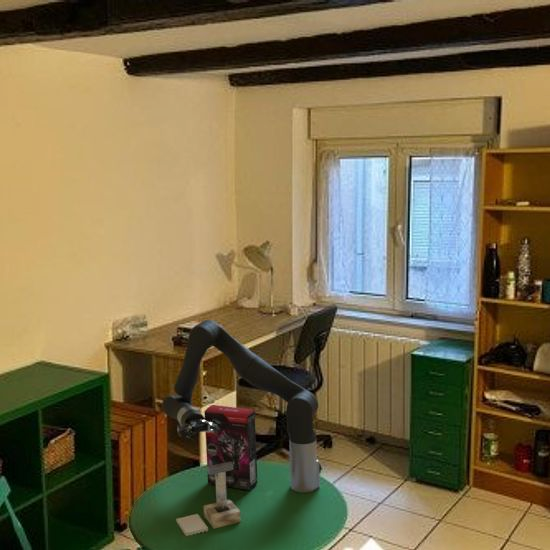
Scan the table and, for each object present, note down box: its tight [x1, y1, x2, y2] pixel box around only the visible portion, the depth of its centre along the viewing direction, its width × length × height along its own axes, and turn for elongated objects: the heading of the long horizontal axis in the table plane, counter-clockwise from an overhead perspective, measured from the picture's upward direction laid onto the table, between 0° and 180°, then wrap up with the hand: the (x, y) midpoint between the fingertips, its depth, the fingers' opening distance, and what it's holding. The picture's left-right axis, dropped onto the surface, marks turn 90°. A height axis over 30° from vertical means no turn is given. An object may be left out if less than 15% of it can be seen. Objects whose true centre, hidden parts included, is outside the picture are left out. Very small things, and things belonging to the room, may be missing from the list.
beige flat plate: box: [175, 513, 209, 537], centre depth 222 cm, size 7×10×1 cm
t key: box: [206, 462, 233, 513], centre depth 225 cm, size 8×3×18 cm, turn 115°
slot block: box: [203, 499, 242, 529], centre depth 226 cm, size 9×9×4 cm
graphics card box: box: [204, 404, 258, 491], centre depth 249 cm, size 17×7×27 cm, turn 68°
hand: (206, 435), depth 233 cm, fingers open, 8 cm apart
